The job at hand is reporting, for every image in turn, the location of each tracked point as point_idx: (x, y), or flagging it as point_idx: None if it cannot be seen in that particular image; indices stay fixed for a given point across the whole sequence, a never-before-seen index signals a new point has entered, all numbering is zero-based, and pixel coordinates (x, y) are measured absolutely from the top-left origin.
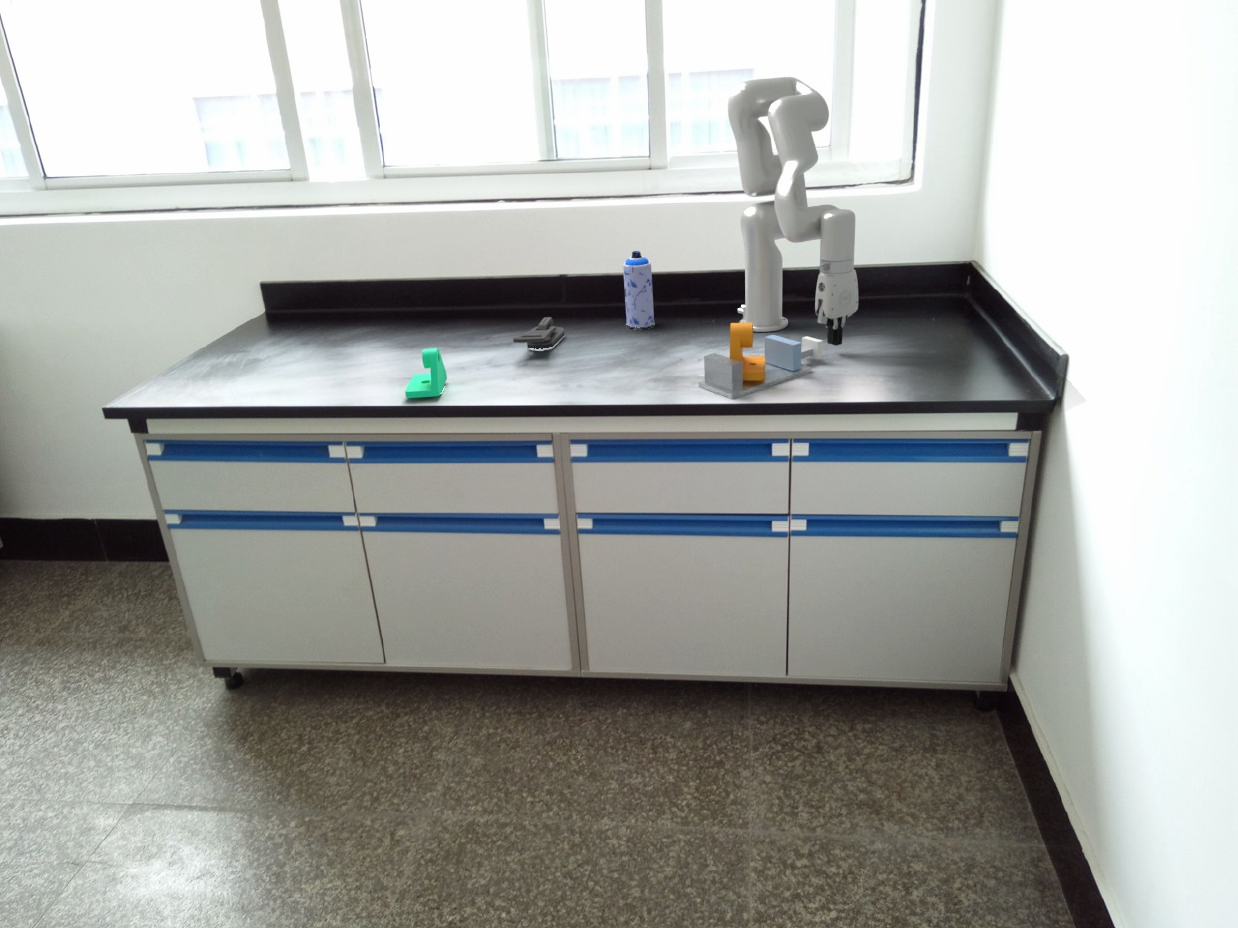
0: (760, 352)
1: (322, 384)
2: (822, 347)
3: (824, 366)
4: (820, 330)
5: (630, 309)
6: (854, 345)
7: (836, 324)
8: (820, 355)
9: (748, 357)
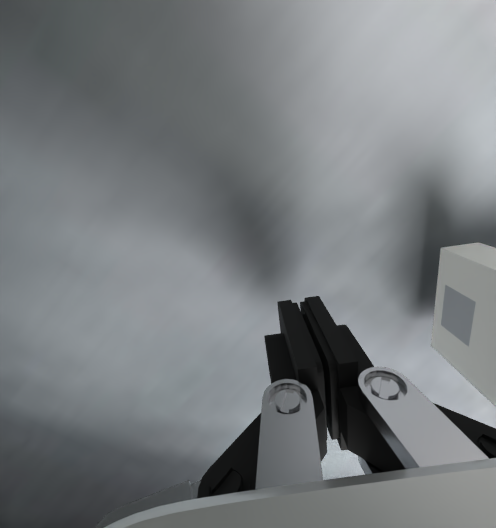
0: None
1: None
2: (491, 266)
3: (465, 183)
4: None
5: None
6: (133, 340)
7: (392, 405)
8: (466, 249)
9: None
